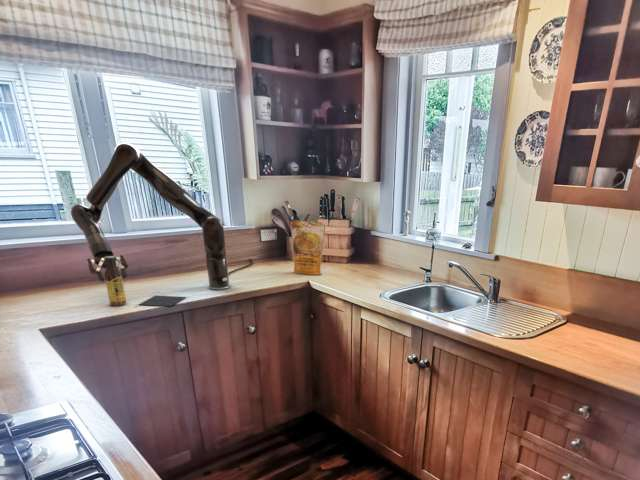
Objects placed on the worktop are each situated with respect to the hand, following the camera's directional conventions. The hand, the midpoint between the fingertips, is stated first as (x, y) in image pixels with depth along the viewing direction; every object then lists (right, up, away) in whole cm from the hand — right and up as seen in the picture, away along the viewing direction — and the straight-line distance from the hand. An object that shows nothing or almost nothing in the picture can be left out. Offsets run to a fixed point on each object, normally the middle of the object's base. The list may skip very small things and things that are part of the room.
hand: (114, 279), depth 193 cm
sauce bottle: (-1, -10, +5) cm, 11 cm away
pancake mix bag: (+71, +17, +68) cm, 100 cm away
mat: (+15, -8, +11) cm, 20 cm away
